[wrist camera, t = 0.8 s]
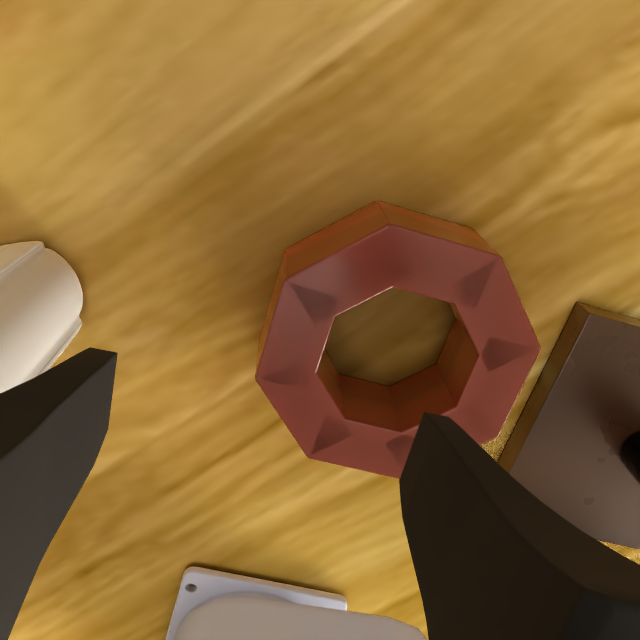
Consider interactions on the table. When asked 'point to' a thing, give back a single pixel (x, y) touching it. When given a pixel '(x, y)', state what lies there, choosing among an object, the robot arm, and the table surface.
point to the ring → (418, 390)
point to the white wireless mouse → (35, 310)
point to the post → (586, 428)
